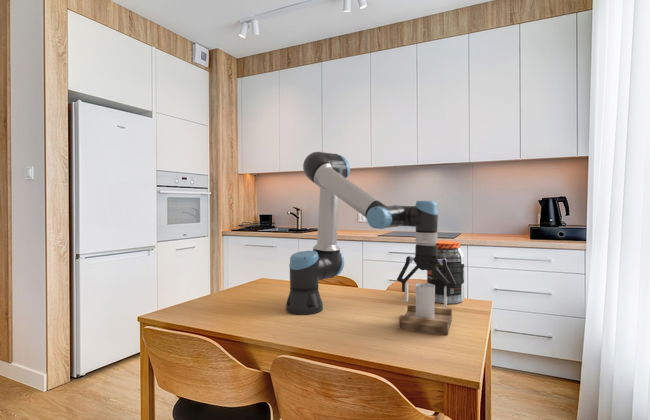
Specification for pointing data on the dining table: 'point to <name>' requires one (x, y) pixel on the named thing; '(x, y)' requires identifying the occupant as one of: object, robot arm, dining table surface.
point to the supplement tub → (456, 268)
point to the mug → (425, 300)
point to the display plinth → (427, 328)
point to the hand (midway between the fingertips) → (425, 303)
